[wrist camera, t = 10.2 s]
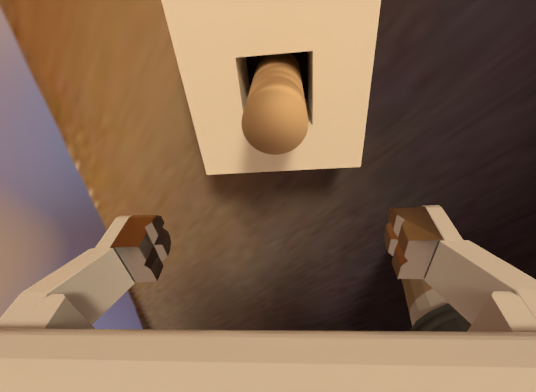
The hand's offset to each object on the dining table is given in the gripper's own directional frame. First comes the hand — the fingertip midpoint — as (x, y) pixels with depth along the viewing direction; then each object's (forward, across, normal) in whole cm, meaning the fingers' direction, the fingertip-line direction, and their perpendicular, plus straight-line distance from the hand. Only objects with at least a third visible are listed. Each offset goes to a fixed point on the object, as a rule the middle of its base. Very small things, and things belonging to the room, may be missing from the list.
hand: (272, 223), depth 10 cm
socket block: (+21, 0, 0) cm, 21 cm away
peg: (+21, 0, 0) cm, 21 cm away
